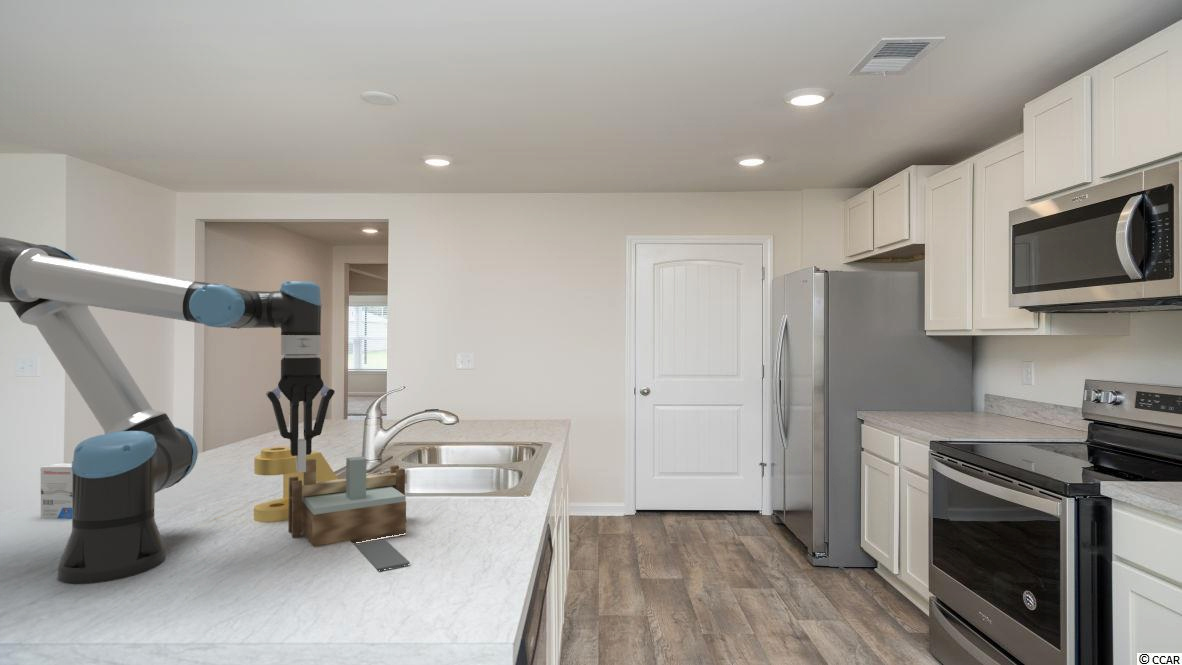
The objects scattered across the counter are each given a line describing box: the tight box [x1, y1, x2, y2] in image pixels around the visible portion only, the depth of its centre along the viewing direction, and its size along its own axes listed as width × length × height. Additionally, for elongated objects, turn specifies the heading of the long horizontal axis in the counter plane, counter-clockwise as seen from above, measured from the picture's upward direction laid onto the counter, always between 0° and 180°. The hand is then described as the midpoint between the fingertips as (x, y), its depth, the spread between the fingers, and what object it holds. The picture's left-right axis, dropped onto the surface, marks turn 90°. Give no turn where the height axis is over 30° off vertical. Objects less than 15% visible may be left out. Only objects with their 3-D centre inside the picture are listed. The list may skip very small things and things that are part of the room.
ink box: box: [40, 462, 72, 520], centre depth 143 cm, size 9×5×12 cm, turn 84°
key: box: [302, 459, 408, 497], centre depth 135 cm, size 23×2×7 cm, turn 124°
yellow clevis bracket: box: [253, 445, 339, 523], centre depth 146 cm, size 20×9×16 cm, turn 151°
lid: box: [302, 455, 407, 515], centre depth 131 cm, size 18×13×9 cm
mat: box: [353, 539, 411, 572], centre depth 114 cm, size 20×15×1 cm
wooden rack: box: [287, 464, 407, 548], centre depth 131 cm, size 23×14×12 cm, turn 124°
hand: (300, 471), depth 129 cm, fingers closed
